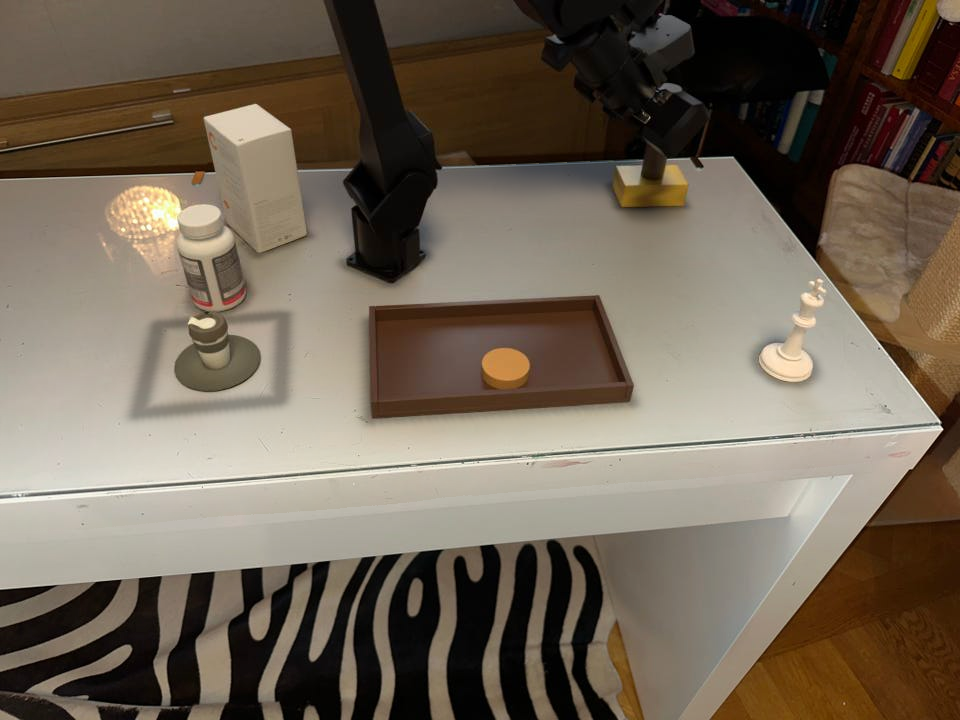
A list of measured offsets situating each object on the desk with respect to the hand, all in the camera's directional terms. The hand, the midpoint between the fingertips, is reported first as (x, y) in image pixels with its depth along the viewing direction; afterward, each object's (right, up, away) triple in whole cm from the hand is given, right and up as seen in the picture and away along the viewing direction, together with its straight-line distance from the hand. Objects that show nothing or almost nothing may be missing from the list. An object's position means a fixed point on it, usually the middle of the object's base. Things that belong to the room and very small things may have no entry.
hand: (668, 138), depth 91 cm
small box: (-47, -12, -4) cm, 49 cm away
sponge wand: (-2, -6, +5) cm, 8 cm away
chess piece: (+7, -27, -18) cm, 33 cm away
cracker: (-20, -28, -21) cm, 41 cm away
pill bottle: (-50, -20, -13) cm, 55 cm away
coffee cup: (-47, -27, -20) cm, 58 cm away
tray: (-21, -27, -19) cm, 39 cm away
